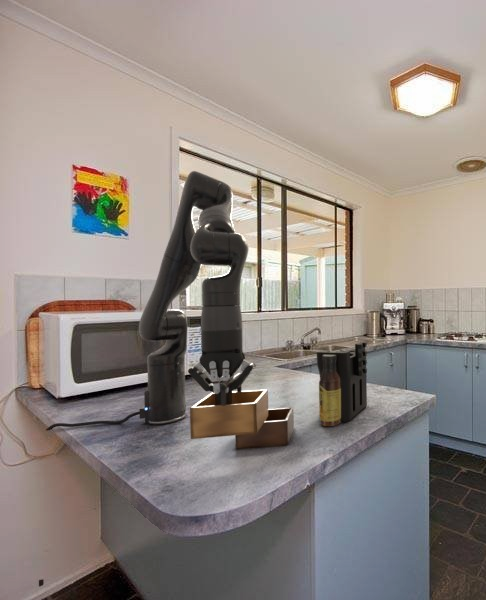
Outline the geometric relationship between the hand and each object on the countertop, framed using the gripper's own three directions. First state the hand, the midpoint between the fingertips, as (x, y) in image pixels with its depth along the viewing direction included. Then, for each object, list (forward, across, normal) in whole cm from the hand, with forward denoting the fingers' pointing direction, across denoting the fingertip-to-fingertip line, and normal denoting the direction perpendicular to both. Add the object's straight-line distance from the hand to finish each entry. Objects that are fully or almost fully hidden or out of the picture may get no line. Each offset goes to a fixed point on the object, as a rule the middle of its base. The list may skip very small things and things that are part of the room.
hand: (223, 410), depth 68 cm
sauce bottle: (+13, -21, -22) cm, 33 cm away
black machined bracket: (+13, -26, -31) cm, 42 cm away
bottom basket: (+13, -5, -15) cm, 20 cm away
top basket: (+4, -2, 0) cm, 4 cm away
